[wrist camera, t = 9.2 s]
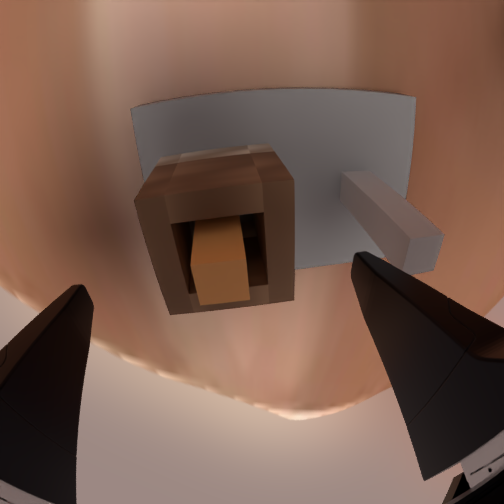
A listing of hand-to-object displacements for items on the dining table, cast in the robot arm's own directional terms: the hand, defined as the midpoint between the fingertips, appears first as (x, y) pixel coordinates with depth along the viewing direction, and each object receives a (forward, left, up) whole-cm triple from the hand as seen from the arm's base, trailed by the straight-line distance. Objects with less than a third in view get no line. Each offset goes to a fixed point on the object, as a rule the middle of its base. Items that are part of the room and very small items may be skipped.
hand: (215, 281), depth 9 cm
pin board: (-4, 0, -8) cm, 9 cm away
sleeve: (0, 0, -6) cm, 6 cm away
